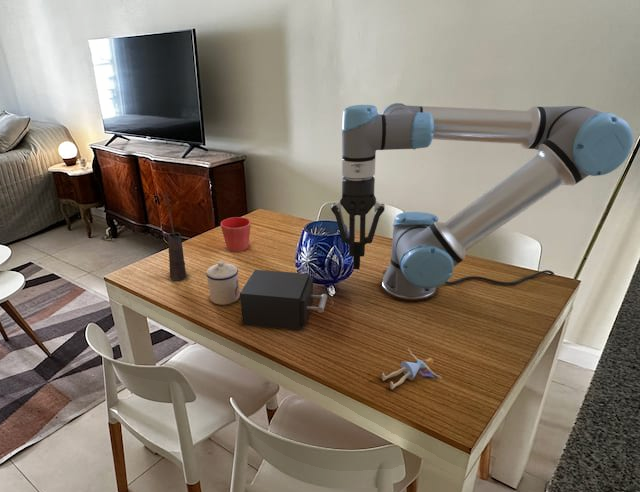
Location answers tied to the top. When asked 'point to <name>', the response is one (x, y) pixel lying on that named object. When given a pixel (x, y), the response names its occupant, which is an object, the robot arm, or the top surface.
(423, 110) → the robot arm
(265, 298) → the dark grey box
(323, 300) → the open drawer
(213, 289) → the teacup with lid
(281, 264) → the top surface
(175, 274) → the butter churn
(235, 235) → the flower pot
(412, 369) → the fairy figurine
